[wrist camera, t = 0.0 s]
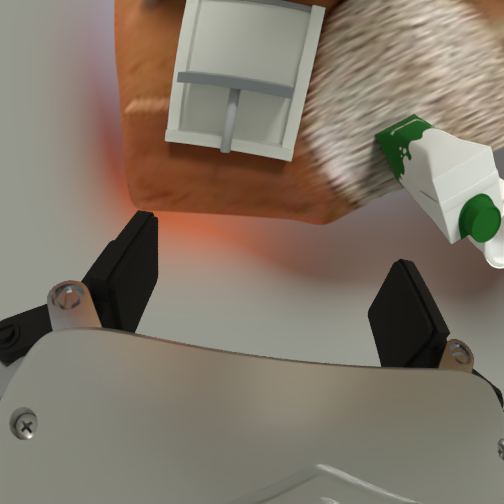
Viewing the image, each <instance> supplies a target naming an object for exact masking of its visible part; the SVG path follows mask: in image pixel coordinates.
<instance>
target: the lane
mask: <svg viewBox="0 0 504 504" xmlns="http://www.w3.org/2000/svg"><path fill="white" fill-rule="evenodd" d="M324 13H325V8H324V7H320V6H316V5H313V6H312V7H311V6H307V5H302V4H298V3H293V2H288V1H283V0H187V1H186V6H185V11H184V16H183V21H182V26H181V32H180V37H179V43H178V49H177V55H176V62H175V68H174V75H173V83H172V91H171V99H170V107H169V117H168V127H167V130H166V134H165V141H169V142H177V143H185V144H193V145H200V146H207V147H214V148H221V142H222V135H223V129H224V123H225V116H226V110H227V104H228V98H229V93H230V88H227V87H220V86H211V85H202V84H192V83H180V82H177V77H178V72H187V71H195V72H206V73H215V74H224V75H231V76H238V77H245V78H251V79H257V80H263V81H268V82H274V83H279V84H284V85H288V86H291V87H292V88H294V91H293V95H292V99H289V98H285V97H280V96H275V95H270V94H264V93H259V92H253V91H247V90H241V91H240V97H239V102H238V108H237V114H236V120H235V125H234V131H233V137H232V143H231V149H230V150H233V151H239V152H245V153H250V154H256V155H261V156H266V157H271V158H276V159H281V160H286V161H292V156H293V152H294V146H295V141H296V137H297V133H298V129H299V124H300V120H301V116H302V111H303V107H304V103H305V98H306V94H307V90H308V85H309V81H310V77H311V72H312V68H313V63H314V59H315V54H316V50H317V45H318V41H319V36H320V31H321V27H322V22H323V18H324Z"/></svg>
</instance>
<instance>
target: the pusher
mask: <svg viewBox="0 0 504 504" xmlns="http://www.w3.org/2000/svg"><path fill="white" fill-rule="evenodd" d="M177 82H180V83H192V84H202V85H211V86H220V87H227V88H230V93H229V98H228V104H227V110H226V116H225V123H224V129H223V135H222V142H221V148H220V151H221V152H223V153H230V149H231V143H232V137H233V131H234V125H235V120H236V114H237V108H238V102H239V97H240V91H241V90H247V91H253V92H259V93H264V94H270V95H275V96H280V97H285V98H289V99H292V95H293V91H294V88H292V87H291V86H288V85H284V84H279V83H274V82H268V81H263V80H257V79H251V78H245V77H238V76H231V75H224V74H215V73H206V72H195V71H187V72H178V77H177Z"/></svg>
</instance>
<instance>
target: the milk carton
mask: <svg viewBox="0 0 504 504" xmlns="http://www.w3.org/2000/svg"><path fill="white" fill-rule="evenodd" d="M376 137H377V139H378V141H379V143H380V145H381V147H382V149H383V151H384V154H385V156H386V158H387V160H388V162H389V164H390V166H391V168H392V171H393V173H394V175H395V177H396V179H397V180H398V182H399V183H400V184H401V185H402V186H403V187H404V188H405V189H406V190H407V191H408V193H409V194H410V195H411V196H412V197H413V198H414V199H415V200H416V201H417V202H418V203H419V205H420V206H421V207H422V208H423V209H424V210H425V211H426V213H427V214H428V215H429V216H430V217H431V218H432V220H433V221H434V222H435V224H436V225H437V226H438V227H439V229H440V230H441V231H442V232H443V234H444V235H445V237H446V238H447V239H448V241H449V242H450V243H451V244H453V243H454V242H456V241H458V240H459V239H463V238H465V237H466V236H468V235H470V236H471V237H472V238H473V239H474V240H475V241H477V242H479V243H484V242H487V241H489V240H490V239H492V238H493V237H494V236H495V235H496V233H497V232H498V230H499V228H500V225H501V214H502V213H503V205H502V197H501V190H500V184H499V175H498V171H497V169H496V167H495V163H494V158H493V154H492V150H491V147H489V146H485V145H482V144H478V143H474V142H469V141H465V140H461V139H458V138H456V137H454V136H452V135H450V134H448V133H446V132H444V131H442V130H440V129H438V128H436V127H434V126H432V125H430V124H429V123H427V122H426V121H424V120H423V119H421V118H419V117H418V116H416V115H412V116H410V117H408V118H406V119H404V120H402V121H400V122H398V123H396V124H395V125H393V126H391V127H389V128H387V129H385V130H383V131H381V132H380V133H378V134H376Z"/></svg>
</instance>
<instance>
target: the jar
mask: <svg viewBox="0 0 504 504" xmlns="http://www.w3.org/2000/svg"><path fill="white" fill-rule="evenodd" d="M499 184H500V190H501V197H502V205H503V213H502V214H501V225H500V228H499V230H498V232H497V233H496V235H495V236H494V237H493V238H492V239H490V240H489V241H487V242H484V243H479V242H477V241H475V240H474V239H473V238H472V237H471V236H470V235H468V236H467V237H468V238H469V240H470V241H471V242H472V243H473V244H474V245H475V246H476V247H477V248H478V249H480V250H481V251H482V252H483V253H484V256H485V258H486V260H487V261H488V262H489V264H490V265H491V266H493V267H496V268H504V181H503V180H502V179H500V178H499Z"/></svg>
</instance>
